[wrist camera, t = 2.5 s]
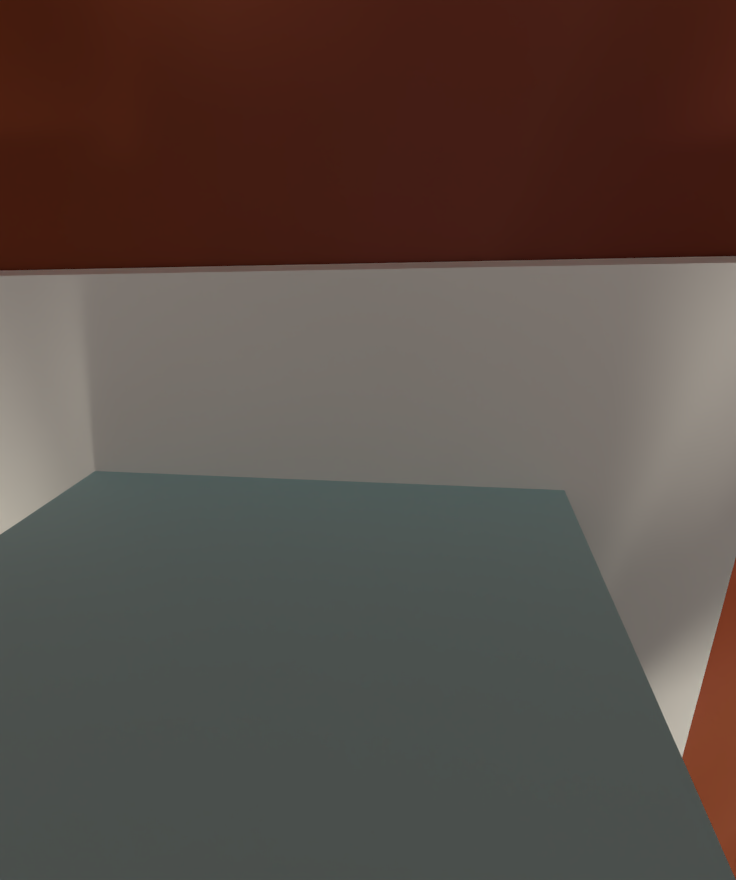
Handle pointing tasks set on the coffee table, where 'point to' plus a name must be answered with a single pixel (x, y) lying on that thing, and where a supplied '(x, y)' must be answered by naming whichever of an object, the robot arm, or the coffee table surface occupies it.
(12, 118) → the coffee table surface
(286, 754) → the block
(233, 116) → the coffee table surface
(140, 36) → the coffee table surface
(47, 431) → the board
